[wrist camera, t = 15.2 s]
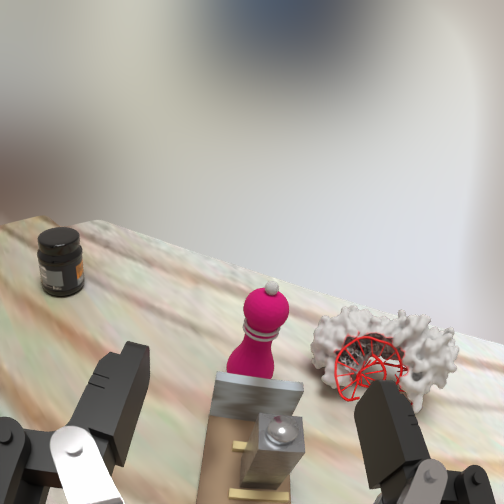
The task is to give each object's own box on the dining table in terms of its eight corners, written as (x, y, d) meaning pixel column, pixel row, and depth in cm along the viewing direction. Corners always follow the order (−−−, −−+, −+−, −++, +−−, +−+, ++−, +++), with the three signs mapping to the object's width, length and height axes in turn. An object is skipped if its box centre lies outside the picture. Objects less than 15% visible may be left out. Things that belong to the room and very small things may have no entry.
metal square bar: (239, 487, 29) (260, 444, 24) (241, 457, 33) (261, 407, 28) (276, 489, 29) (308, 447, 24) (275, 460, 33) (304, 411, 28)
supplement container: (89, 275, 65) (87, 227, 60) (78, 301, 56) (73, 248, 51) (50, 271, 62) (46, 224, 58) (35, 295, 53) (27, 244, 48)
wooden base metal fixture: (189, 551, 20) (192, 540, 16) (209, 414, 40) (217, 371, 36) (287, 558, 21) (319, 545, 17) (282, 423, 41) (302, 382, 37)
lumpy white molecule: (332, 453, 44) (468, 407, 37) (300, 400, 37) (478, 337, 30) (325, 373, 61) (434, 335, 55) (297, 310, 54) (427, 264, 48)
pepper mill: (259, 408, 43) (295, 305, 35) (216, 392, 45) (236, 286, 36) (272, 378, 49) (305, 278, 41) (232, 364, 51) (254, 262, 43)
